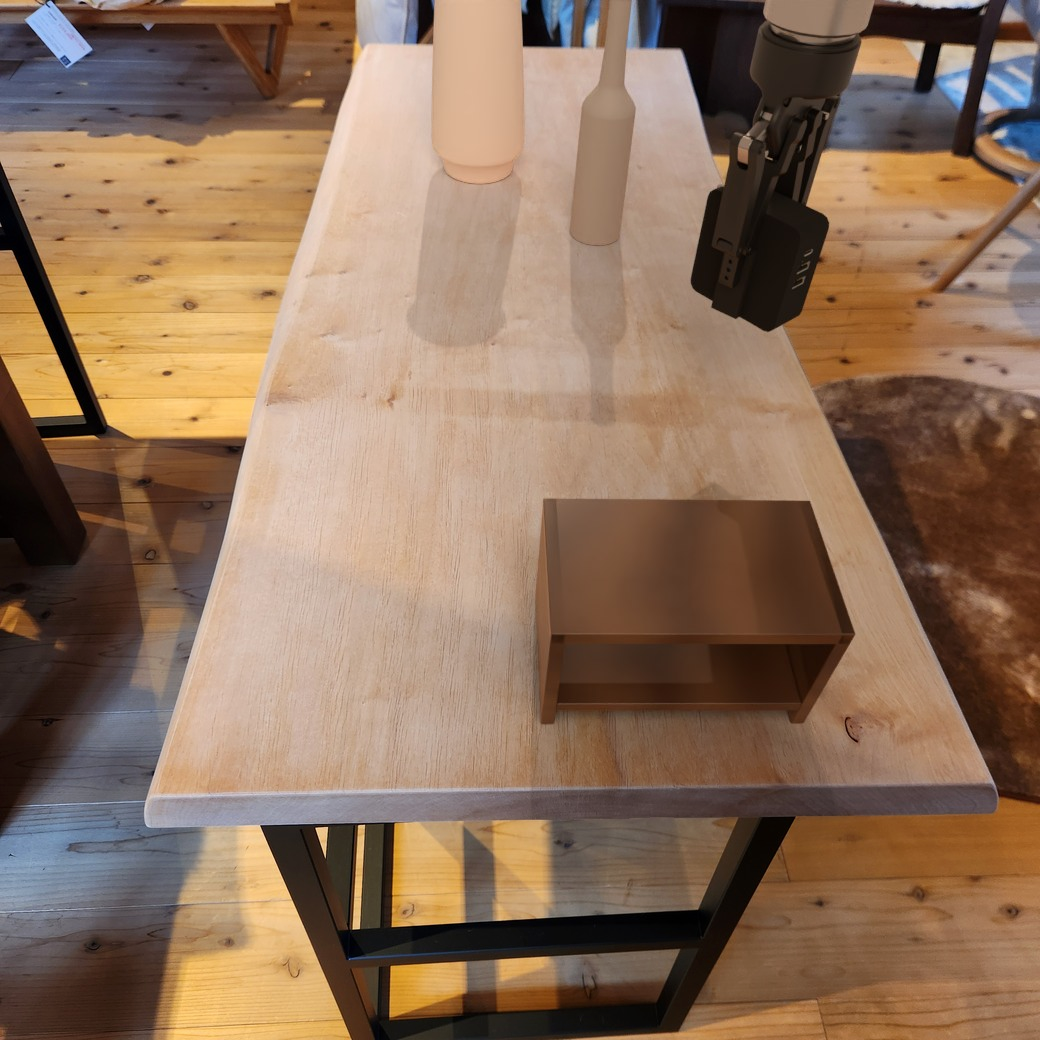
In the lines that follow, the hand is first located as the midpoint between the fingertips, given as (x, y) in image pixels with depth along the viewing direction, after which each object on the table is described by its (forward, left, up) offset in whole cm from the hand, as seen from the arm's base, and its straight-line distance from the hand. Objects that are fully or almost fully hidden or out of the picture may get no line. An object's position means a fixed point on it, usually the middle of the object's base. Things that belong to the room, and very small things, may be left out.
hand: (741, 299), depth 80 cm
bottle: (+30, -18, -13) cm, 37 cm away
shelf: (-14, +29, -13) cm, 35 cm away
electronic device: (0, 0, -1) cm, 1 cm away
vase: (+53, -20, -13) cm, 58 cm away
